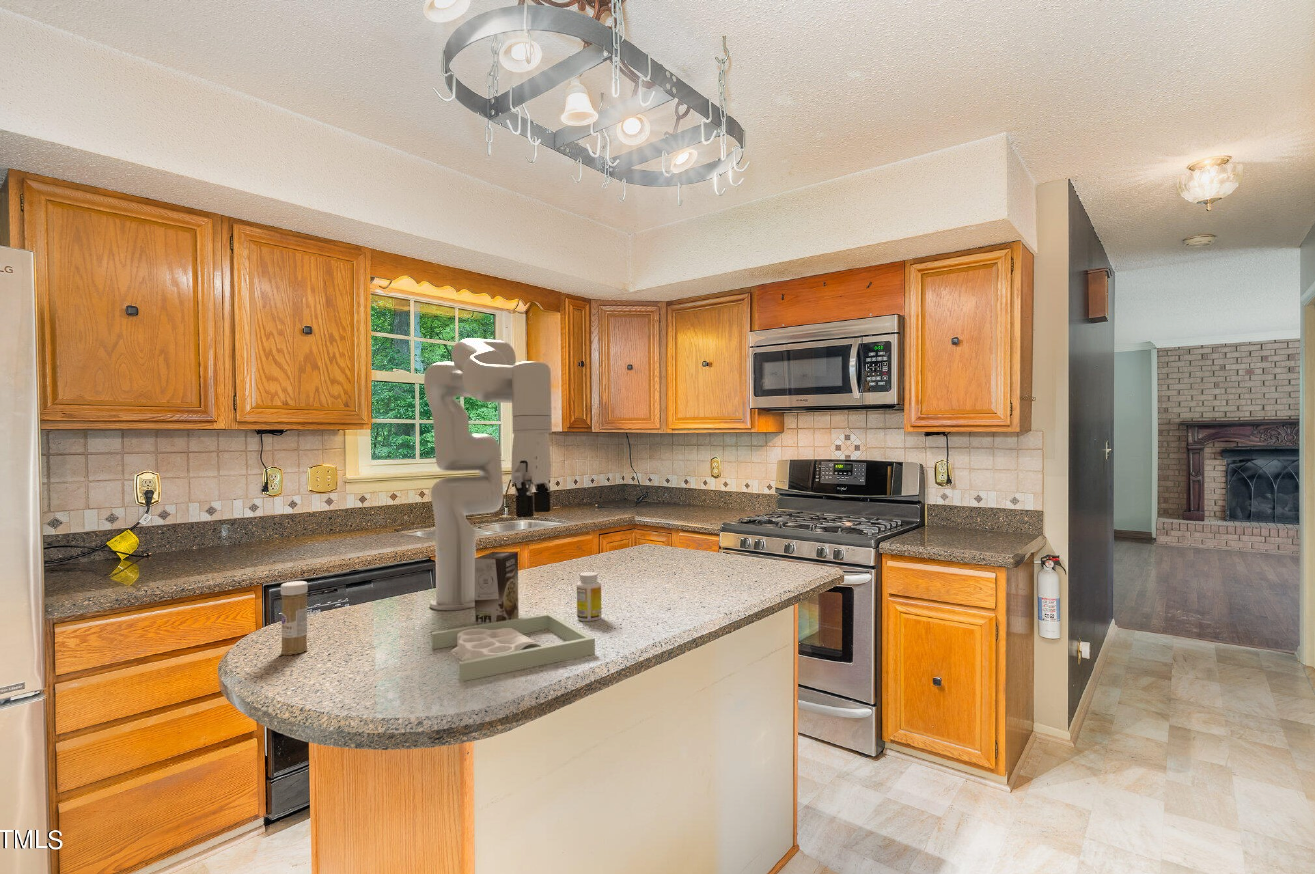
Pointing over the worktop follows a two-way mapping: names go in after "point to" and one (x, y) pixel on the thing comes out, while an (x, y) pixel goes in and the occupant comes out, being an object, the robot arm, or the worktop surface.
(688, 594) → the worktop surface
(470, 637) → the white brass knuckles
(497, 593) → the coffee box
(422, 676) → the worktop surface
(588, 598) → the supplement bottle
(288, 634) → the sprinkles bottle
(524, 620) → the green rectangular frame
